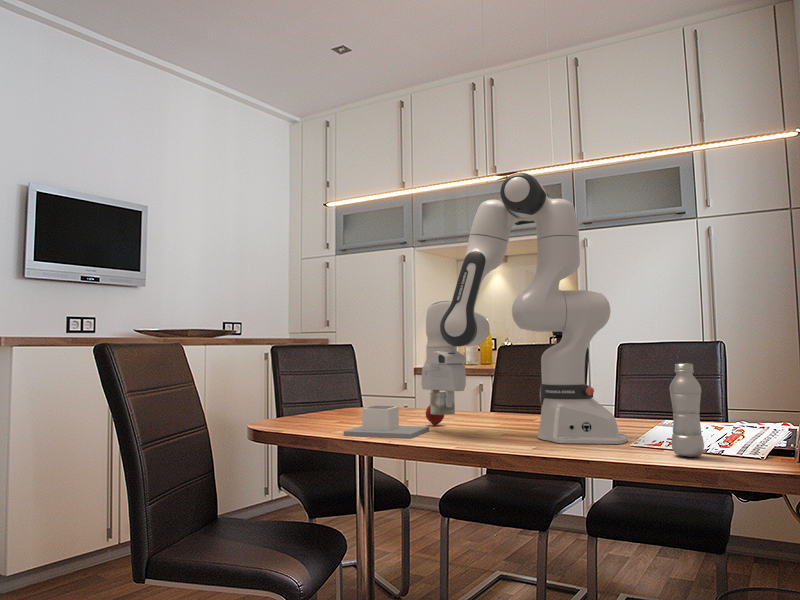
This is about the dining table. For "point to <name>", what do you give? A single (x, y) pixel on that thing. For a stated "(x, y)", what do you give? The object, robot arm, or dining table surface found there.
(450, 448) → the dining table surface
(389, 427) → the build base
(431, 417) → the onion
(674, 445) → the plastic bottle
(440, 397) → the sage block
